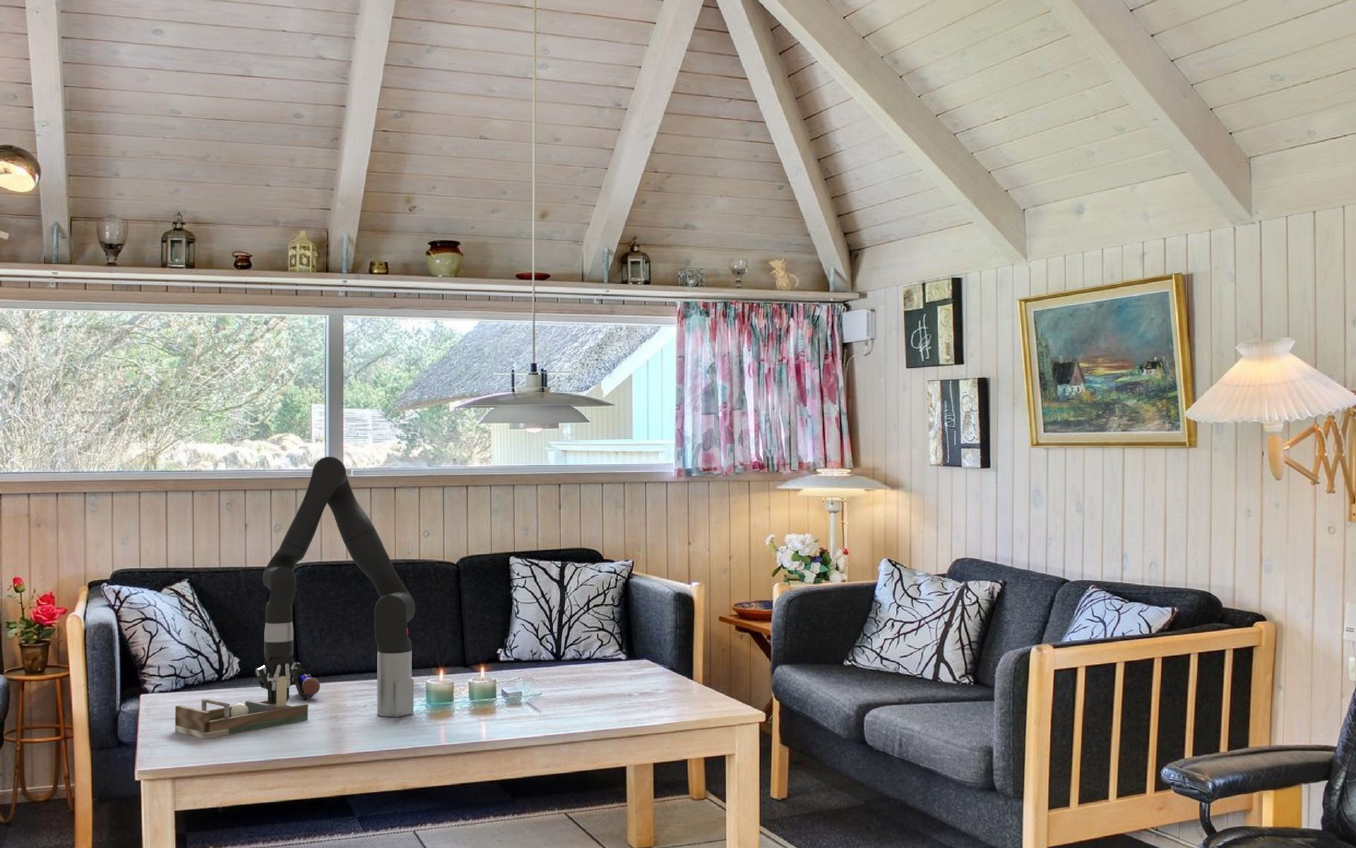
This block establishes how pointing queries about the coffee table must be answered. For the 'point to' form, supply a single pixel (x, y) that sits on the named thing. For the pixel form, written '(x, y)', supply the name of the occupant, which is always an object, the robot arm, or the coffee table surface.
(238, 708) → the ball
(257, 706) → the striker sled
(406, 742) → the coffee table surface
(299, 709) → the channel
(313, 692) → the character figurine
